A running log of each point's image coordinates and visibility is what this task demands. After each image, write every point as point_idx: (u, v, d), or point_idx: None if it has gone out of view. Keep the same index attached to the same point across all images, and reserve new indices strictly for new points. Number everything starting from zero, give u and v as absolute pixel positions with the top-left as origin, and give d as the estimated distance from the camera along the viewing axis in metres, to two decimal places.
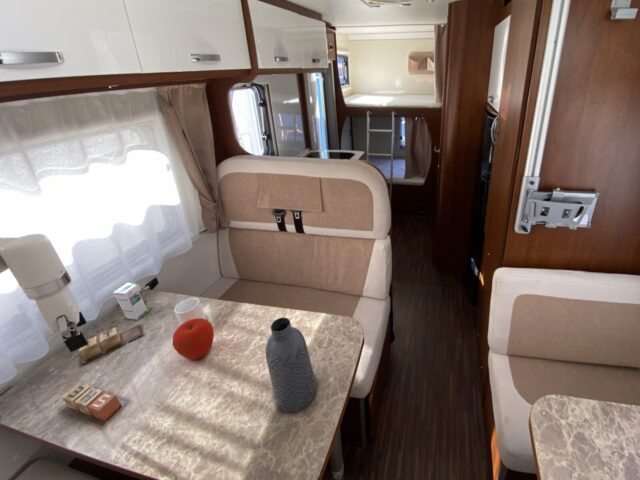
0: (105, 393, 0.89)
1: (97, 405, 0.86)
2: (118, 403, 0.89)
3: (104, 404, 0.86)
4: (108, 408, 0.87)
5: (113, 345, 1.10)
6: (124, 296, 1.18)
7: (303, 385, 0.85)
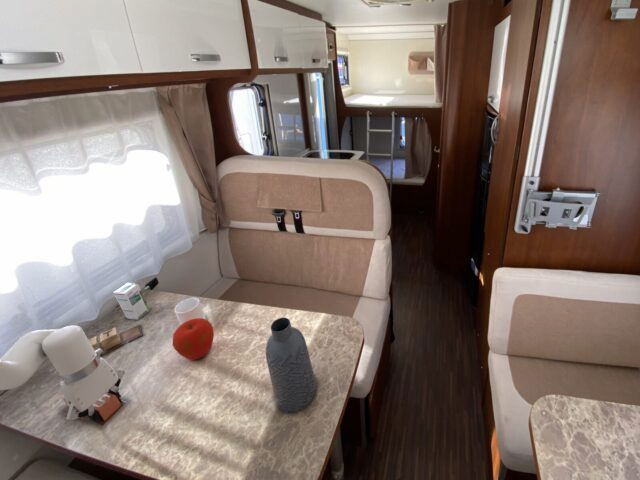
0: (105, 393, 0.89)
1: (97, 405, 0.86)
2: (118, 403, 0.89)
3: (104, 404, 0.86)
4: (108, 408, 0.87)
5: (113, 345, 1.10)
6: (124, 296, 1.18)
7: (303, 385, 0.85)
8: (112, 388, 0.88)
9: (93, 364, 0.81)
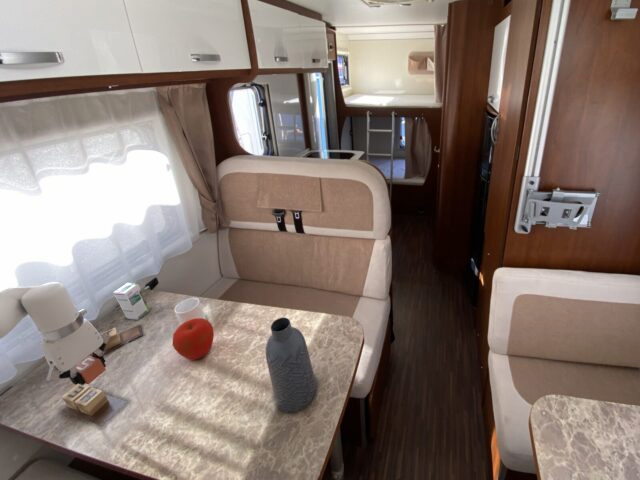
0: (89, 357, 0.86)
1: (80, 367, 0.83)
2: (102, 368, 0.86)
3: (87, 367, 0.83)
4: (91, 372, 0.84)
5: (113, 345, 1.10)
6: (124, 296, 1.18)
7: (303, 385, 0.85)
8: (96, 351, 0.85)
9: (75, 323, 0.78)
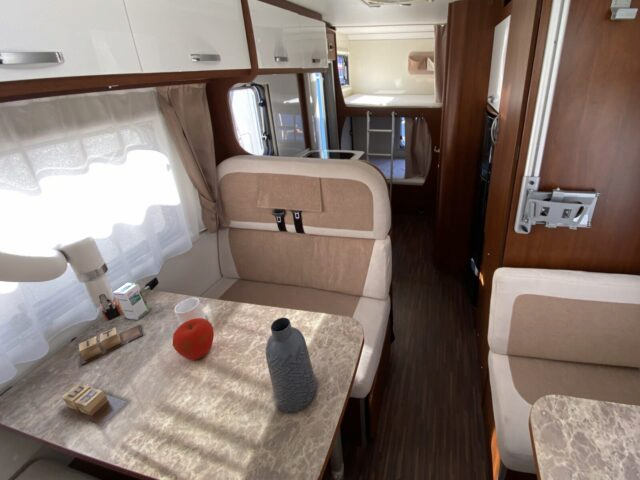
0: None
1: None
2: (120, 305, 1.08)
3: (116, 302, 1.05)
4: (119, 306, 1.06)
5: (113, 345, 1.10)
6: (124, 296, 1.18)
7: (303, 385, 0.85)
8: None
9: (105, 263, 1.02)
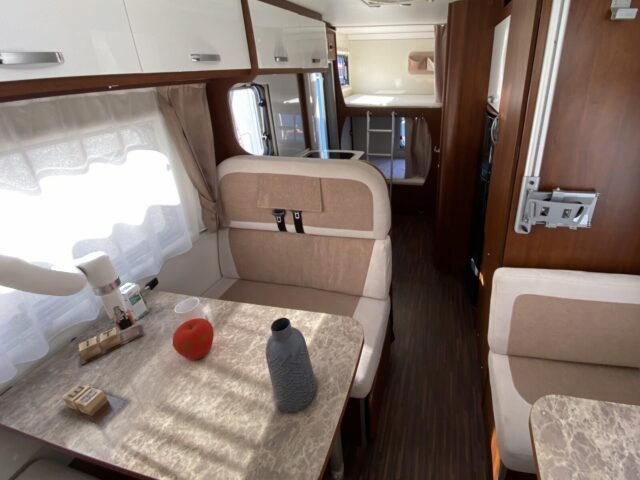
0: None
1: None
2: None
3: (128, 313, 1.12)
4: (131, 316, 1.13)
5: (113, 345, 1.10)
6: (124, 296, 1.18)
7: (303, 385, 0.85)
8: None
9: None
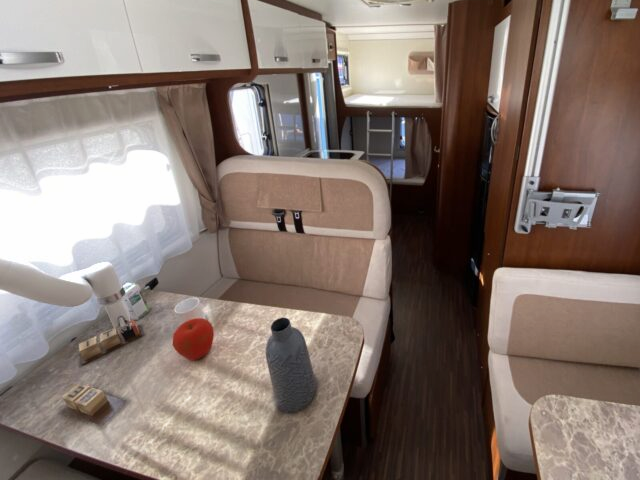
0: None
1: None
2: (136, 325, 1.17)
3: (133, 323, 1.14)
4: (136, 326, 1.15)
5: (113, 345, 1.10)
6: (124, 296, 1.18)
7: (303, 385, 0.85)
8: None
9: (122, 286, 1.10)
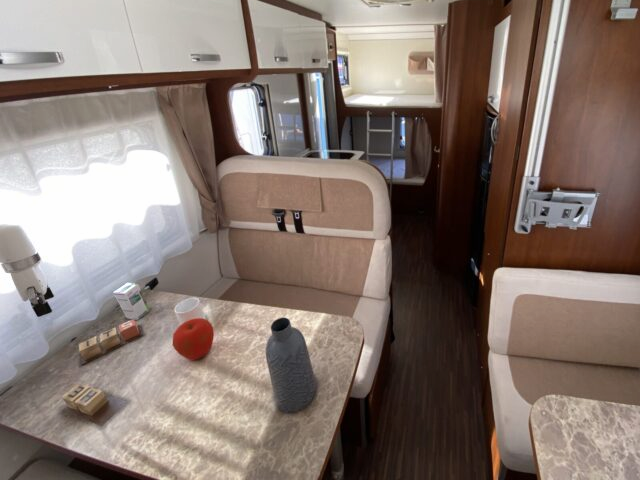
0: (121, 324, 1.14)
1: (127, 326, 1.13)
2: (136, 325, 1.17)
3: (133, 323, 1.14)
4: (136, 326, 1.15)
5: (113, 345, 1.10)
6: (124, 296, 1.18)
7: (303, 385, 0.85)
8: None
9: None
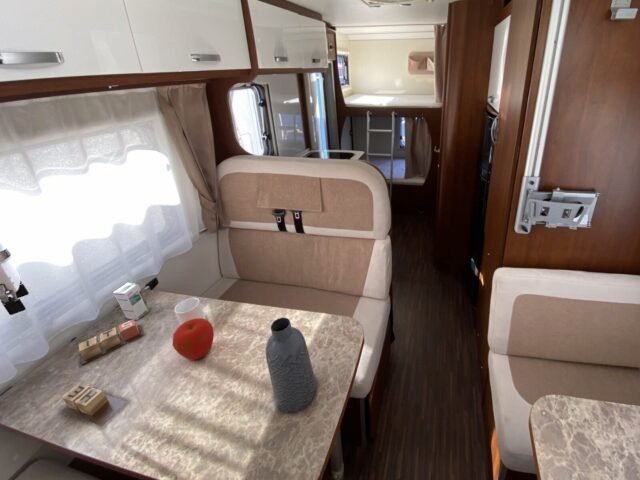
0: (121, 324, 1.14)
1: (127, 326, 1.13)
2: (136, 325, 1.17)
3: (133, 323, 1.14)
4: (136, 326, 1.15)
5: (113, 345, 1.10)
6: (124, 296, 1.18)
7: (303, 385, 0.85)
8: None
9: (7, 249, 0.90)
